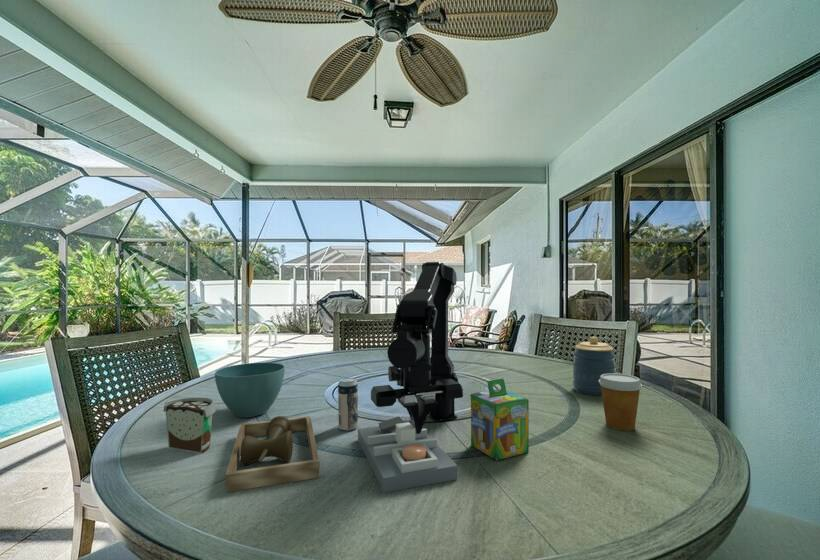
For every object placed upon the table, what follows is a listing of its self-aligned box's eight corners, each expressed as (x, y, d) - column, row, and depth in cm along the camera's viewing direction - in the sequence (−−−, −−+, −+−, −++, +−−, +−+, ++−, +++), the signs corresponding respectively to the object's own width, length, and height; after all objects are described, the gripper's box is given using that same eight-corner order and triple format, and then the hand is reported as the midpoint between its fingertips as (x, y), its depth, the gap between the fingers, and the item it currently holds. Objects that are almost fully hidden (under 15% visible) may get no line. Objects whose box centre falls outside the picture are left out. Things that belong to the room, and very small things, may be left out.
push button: (421, 453, 77) (421, 442, 77) (429, 462, 73) (429, 452, 73) (399, 456, 76) (399, 445, 76) (406, 466, 72) (406, 455, 72)
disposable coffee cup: (646, 425, 98) (646, 376, 98) (636, 436, 91) (636, 384, 91) (605, 416, 105) (605, 371, 105) (593, 426, 98) (592, 377, 98)
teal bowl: (199, 419, 106) (199, 373, 106) (250, 399, 123) (249, 360, 123) (252, 427, 99) (251, 379, 99) (298, 406, 116) (297, 364, 116)
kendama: (301, 436, 95) (286, 475, 75) (259, 440, 94) (233, 480, 74) (300, 411, 95) (285, 443, 75) (259, 414, 94) (232, 447, 74)
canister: (565, 386, 135) (564, 334, 135) (601, 384, 136) (600, 333, 136) (586, 397, 122) (585, 340, 122) (625, 395, 123) (625, 339, 123)
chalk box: (496, 462, 79) (495, 388, 79) (469, 445, 87) (468, 378, 87) (531, 452, 84) (530, 382, 84) (502, 437, 92) (501, 373, 92)
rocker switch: (399, 420, 92) (398, 416, 92) (404, 426, 88) (403, 421, 88) (379, 427, 91) (378, 423, 91) (383, 433, 87) (382, 429, 87)
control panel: (415, 432, 96) (415, 415, 96) (457, 479, 73) (457, 457, 73) (358, 439, 91) (358, 422, 91) (383, 492, 68) (383, 469, 68)
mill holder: (310, 428, 99) (310, 416, 99) (319, 477, 74) (319, 461, 74) (240, 436, 94) (240, 423, 94) (225, 492, 69) (225, 475, 69)
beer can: (354, 432, 96) (353, 382, 96) (335, 431, 97) (335, 381, 97) (360, 425, 100) (360, 377, 100) (342, 424, 101) (342, 377, 101)
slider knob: (409, 438, 85) (409, 422, 85) (415, 446, 81) (415, 428, 81) (395, 440, 84) (395, 423, 84) (401, 448, 80) (401, 430, 80)
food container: (228, 443, 90) (228, 399, 90) (206, 454, 84) (206, 407, 84) (187, 436, 94) (187, 394, 94) (163, 447, 88) (163, 402, 88)
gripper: (442, 349, 94) (443, 415, 94) (364, 354, 88) (365, 425, 88) (463, 357, 83) (464, 432, 83) (376, 364, 77) (377, 445, 77)
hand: (417, 433), depth 83 cm, fingers closed
